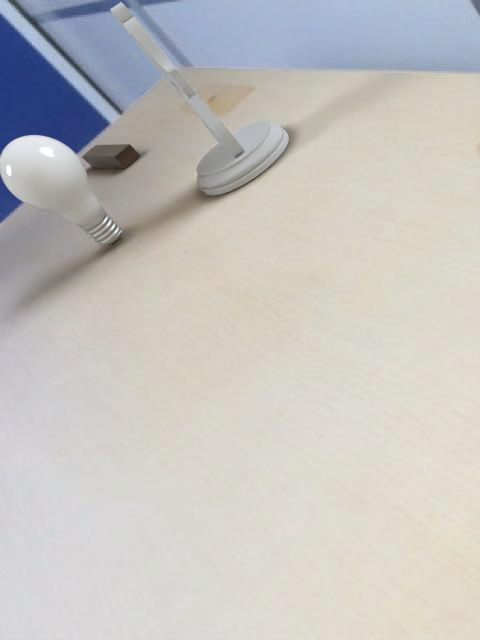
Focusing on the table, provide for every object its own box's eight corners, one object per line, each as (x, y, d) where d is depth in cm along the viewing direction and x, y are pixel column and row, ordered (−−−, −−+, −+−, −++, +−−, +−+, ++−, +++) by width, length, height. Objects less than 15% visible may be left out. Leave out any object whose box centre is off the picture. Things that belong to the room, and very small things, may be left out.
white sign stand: (215, 206, 68) (72, 47, 58) (194, 181, 75) (63, 33, 64) (301, 144, 70) (178, -23, 59) (274, 124, 76) (158, -30, 66)
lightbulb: (102, 235, 75) (-1, 139, 67) (152, 212, 74) (53, 110, 66) (79, 272, 71) (-33, 174, 63) (132, 248, 70) (24, 144, 62)
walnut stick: (141, 155, 88) (129, 143, 87) (125, 168, 87) (114, 156, 86) (106, 155, 94) (96, 144, 93) (92, 167, 93) (81, 156, 92)
